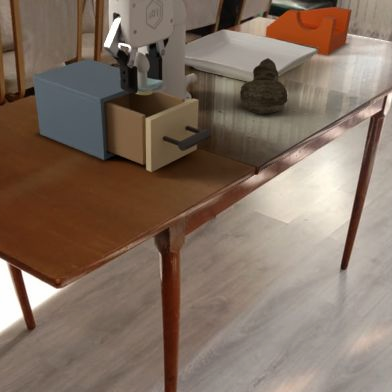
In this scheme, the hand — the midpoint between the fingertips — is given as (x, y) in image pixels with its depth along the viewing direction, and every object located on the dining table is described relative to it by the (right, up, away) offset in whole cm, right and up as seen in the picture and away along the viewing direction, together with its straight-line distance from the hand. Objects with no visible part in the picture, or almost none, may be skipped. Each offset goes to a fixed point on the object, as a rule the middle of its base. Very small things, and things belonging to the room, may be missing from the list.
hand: (141, 84), depth 101 cm
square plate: (+20, +26, +51) cm, 61 cm away
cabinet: (-10, -3, +17) cm, 19 cm away
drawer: (+1, -8, +10) cm, 13 cm away
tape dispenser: (+38, +40, +68) cm, 88 cm away
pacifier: (0, -1, +1) cm, 1 cm away
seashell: (+22, +7, +30) cm, 37 cm away
